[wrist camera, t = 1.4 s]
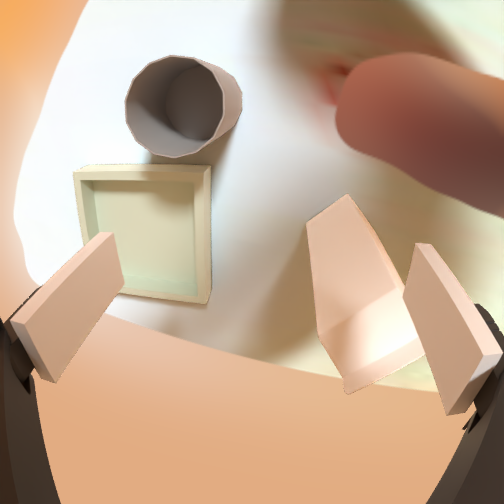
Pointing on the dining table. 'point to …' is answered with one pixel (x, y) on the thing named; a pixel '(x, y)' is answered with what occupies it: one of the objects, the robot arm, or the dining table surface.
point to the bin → (152, 225)
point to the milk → (358, 298)
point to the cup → (181, 105)
